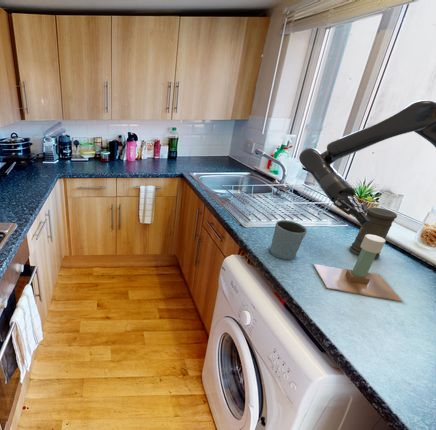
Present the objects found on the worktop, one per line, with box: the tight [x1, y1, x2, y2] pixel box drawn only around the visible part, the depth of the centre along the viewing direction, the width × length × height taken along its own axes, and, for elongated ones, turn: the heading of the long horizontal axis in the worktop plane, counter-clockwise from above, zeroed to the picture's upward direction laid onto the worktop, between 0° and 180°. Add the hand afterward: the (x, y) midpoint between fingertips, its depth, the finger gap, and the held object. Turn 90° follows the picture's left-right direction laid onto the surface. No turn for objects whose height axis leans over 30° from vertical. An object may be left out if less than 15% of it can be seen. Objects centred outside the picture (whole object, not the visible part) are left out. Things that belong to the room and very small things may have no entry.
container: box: [349, 207, 398, 260], centre depth 109 cm, size 9×9×18 cm
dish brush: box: [345, 234, 387, 285], centre depth 93 cm, size 5×5×16 cm
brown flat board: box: [312, 263, 403, 303], centre depth 96 cm, size 20×14×1 cm
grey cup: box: [269, 219, 308, 260], centre depth 108 cm, size 10×10×12 cm
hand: (366, 223), depth 93 cm, fingers closed
